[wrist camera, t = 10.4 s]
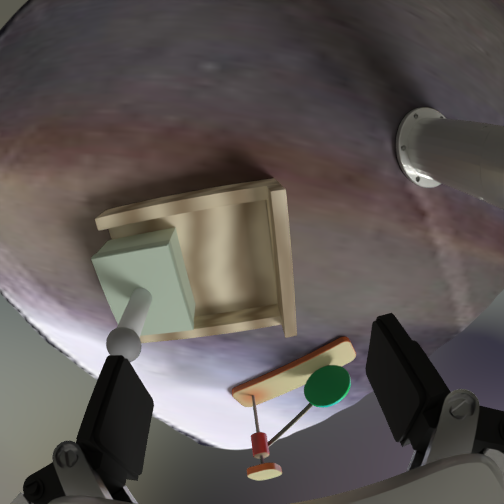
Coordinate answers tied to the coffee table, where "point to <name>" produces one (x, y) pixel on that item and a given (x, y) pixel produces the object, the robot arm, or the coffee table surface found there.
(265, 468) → the crank mechanism
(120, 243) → the green joystick
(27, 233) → the coffee table surface
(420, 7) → the coffee table surface
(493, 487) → the robot arm
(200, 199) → the bay
